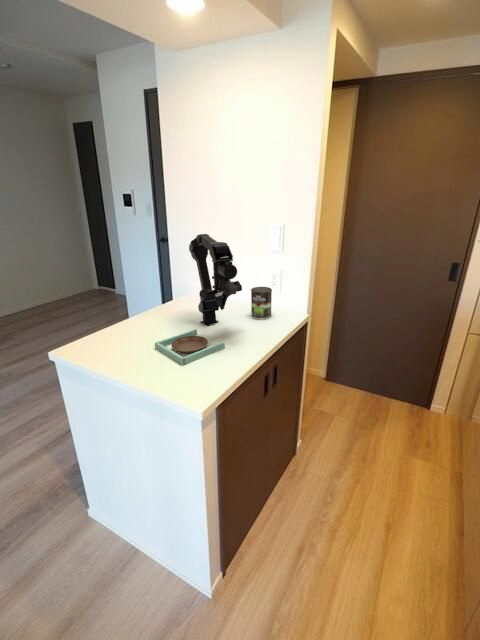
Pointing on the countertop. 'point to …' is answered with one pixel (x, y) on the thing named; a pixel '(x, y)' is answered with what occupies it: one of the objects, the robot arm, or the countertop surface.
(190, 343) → the saucer
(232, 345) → the countertop surface
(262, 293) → the coffee can
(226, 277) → the robot arm
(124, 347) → the countertop surface
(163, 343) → the tray
